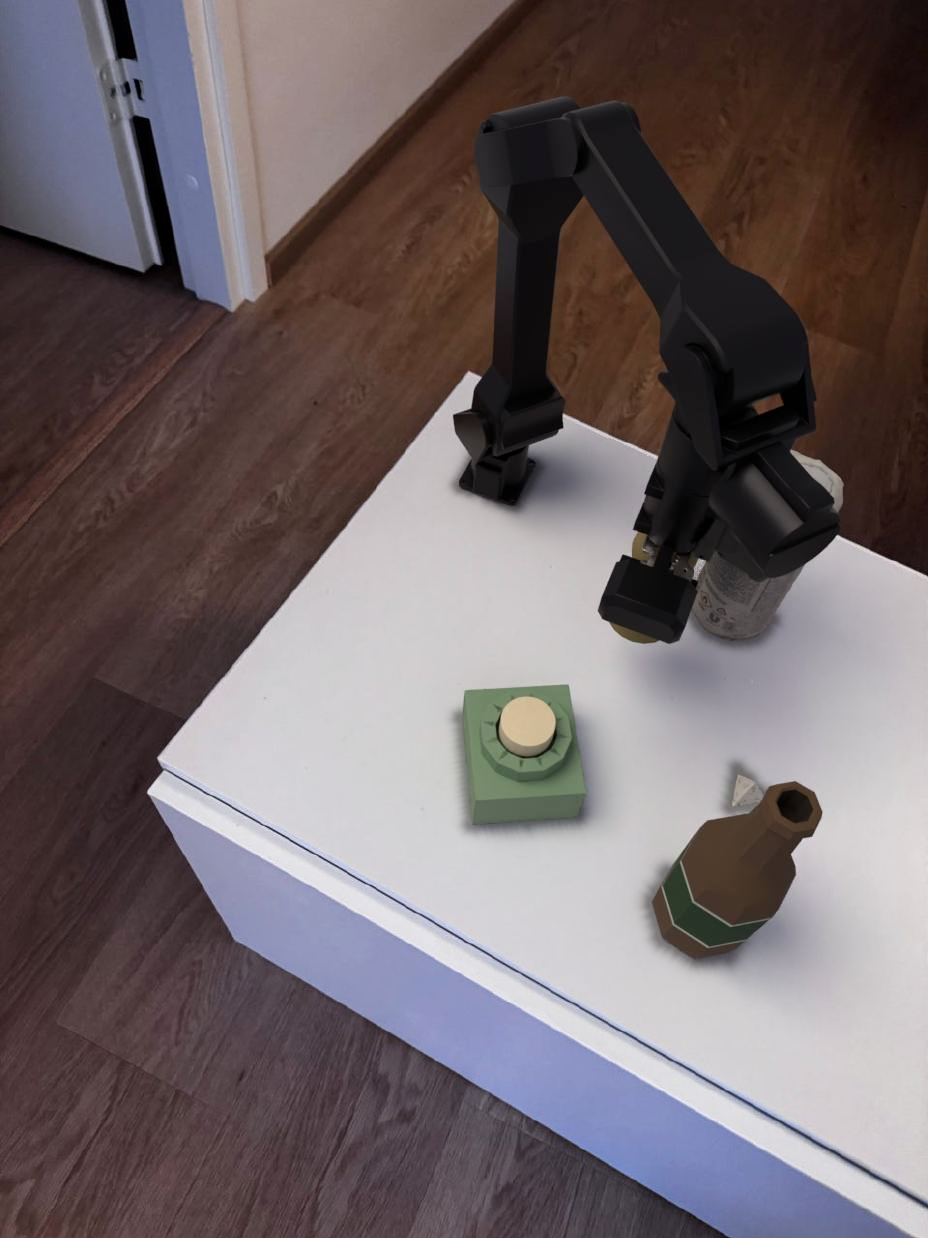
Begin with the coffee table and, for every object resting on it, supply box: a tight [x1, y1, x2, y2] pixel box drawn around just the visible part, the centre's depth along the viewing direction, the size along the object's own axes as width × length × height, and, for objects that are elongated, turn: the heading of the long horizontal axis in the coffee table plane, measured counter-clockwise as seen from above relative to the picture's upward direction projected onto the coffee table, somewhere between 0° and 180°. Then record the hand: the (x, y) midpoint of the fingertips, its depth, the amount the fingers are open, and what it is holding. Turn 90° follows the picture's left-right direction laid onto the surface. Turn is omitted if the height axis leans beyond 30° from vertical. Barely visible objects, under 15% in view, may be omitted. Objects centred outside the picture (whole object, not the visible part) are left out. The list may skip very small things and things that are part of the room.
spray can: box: [691, 449, 845, 642], centre depth 86 cm, size 8×8×20 cm
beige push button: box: [499, 697, 556, 757], centre depth 78 cm, size 4×4×2 cm
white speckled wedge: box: [731, 773, 765, 807], centre depth 84 cm, size 4×3×3 cm
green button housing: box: [461, 684, 587, 825], centre depth 82 cm, size 10×9×8 cm
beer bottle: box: [651, 780, 823, 960], centre depth 69 cm, size 8×8×24 cm
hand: (652, 589), depth 80 cm, fingers closed on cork, 4 cm apart
